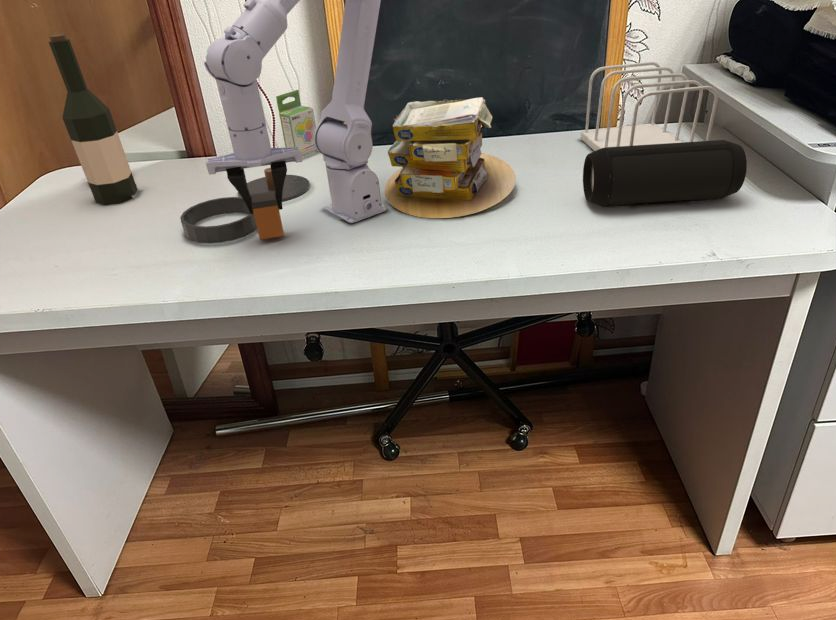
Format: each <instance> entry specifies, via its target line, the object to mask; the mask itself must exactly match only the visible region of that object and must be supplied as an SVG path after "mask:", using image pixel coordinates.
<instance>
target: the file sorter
mask: <svg viewBox="0 0 836 620" xmlns="http://www.w3.org/2000/svg"><path fill="white" fill-rule="evenodd" d="M645 66H655V67H646V68H636V67H645ZM626 68H632V69H626ZM634 68H635V69H634ZM617 69H622V70H617ZM606 70H607V71H608V70H613V71H611V72H609V73H607V74H606V75H605V76H604V77H603V79H602V81H601V83H600V84H601V85H600V91H599V100H598V107H597V115H596V124H595V129H590V130H589V125H590V124H589V123H590V113H591V103H592V101H591V100H592V90H593V81H594V78H595V76H596V75H597V74H599V72H601V71H606ZM663 71H667V72H669V73H663ZM649 72H658V74H648V75H636V76H625V77H623V78H622V77H621V78H620V79H619V80H618V81H617V82H615V84H614V85H613V87H612V90H611V94H610V102H609V110H608V117H607V125H606V128H600V123H601V122H600V121H601V114H602V106H603V97H604V92H605V91H604V90H605V85H606V82H607V80H608V79H609V78H611V77H613V76H615V75H622V74H623V75H624V74H635V73H649ZM666 78H667V79H668V78H671V81H663V82H662V79H666ZM676 78H682V79H683V80H676ZM652 79H653V80H654V79H655V80H656V79H657V82H650V83H649V82H648V83H638V84H634V85H631V86H630V87H629V88H628V89H627V90H626V91H625V92H624V95H623V96H622V101H621V108H620V116H619V123H618V126H615V127H611V124H612V118H613V117H612V115H613V110H614V102H615V95H616V90H617V88H618V87H619V85H621V84H622V83H624V82H628V81H629V82H630V81H639V80H641V81H643V80H652ZM679 85H680V86H681V85H685V87H681V88H680V87H679V88H675V86H679ZM690 85H696V86H692V87H690ZM667 86H670V89H663V90H660V87H667ZM654 87H656V90H653V91H648V92H645V93H643V94H642V95H640V97H638V99H637V101H636V102H635V104H634V110H633V116H632V122H631V125H624V126H623V124H624V116H625V108H626V101H627V98H628V95H629V94H630V93H631V92H632V91H633V90H636V89H641V88H654ZM704 90H705V91H706V90H709V91H711V93H712V94H713V104H712V109H711V113H710V119H709V124H708V128H707V132H706V136H705V141H711V136H712V131H713V125H714V121H715V116H716V111H717V107H718V101H719V94H718V91H717V89H716V88H715V87H713V86H711V85H702V84H701V82H700V81H697V80H694V79H690V80H689V78H688V77H687V76H686V75H685V74H683V73H680V72H679V73H678V72H677V73H675V72H674V70H673V69H672V68H670V67H668V66H661V65H660V64H659V63H657V62H655V61H645V62H636V63H626V64H615V65H606V66H601V67H598V68H596V69H595V70H594V71H593V72H592V74H591V75H590V77H589V83H588V93H587V104H586V105H587V106H586V115H585V116H586V117H585V128H584V130H582V131H581V132H580V140H581V141H583V142H584V143H585V144H586V145H587V146H588V147H589V148H590V149H592V150H593V152H594V151H596V150H599V149H601V148H606V147H620V146H635V145H651V144H666V143H682V142H684V141H683V140H681V139H680V138H679V137H680V133H681V128H682V123H683V119H684V114H685V109H686V104H687V99H688V94H689V92H695V91H699V93H698V99H697V103H696V105H697V106H696V108H695V114H694V118H693V122H692V128H691V131H690V132H691V133H690V137H689V142H694V139H695V133H696V130H697V124H698V119H699V115H700V111H701V105H702V100H703V95H704ZM675 93H676V94H677V93H684V94H683V99H682V103H681V108H680V114H679V118H678V123H677V129H676V134H675V135H674V134H672V133H671V132H670V131H668V130H667V128H668V122H669V116H670V110H671V105H672V99H673V95H674V94H675ZM667 94H668V100H667V106H666V111H665V117H664V122H663V127H662V126H660V125H658V124H657V123H656V122H655V121H656V115H657V109H658V103H659V102H658V101H659V95H667ZM649 96H654V104H653V111H652V117H651V122H649V123H640V124H637V117H638V112H639V106H640V104H641V103H642V101H644V99H646V98H647V97H649Z"/></svg>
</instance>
